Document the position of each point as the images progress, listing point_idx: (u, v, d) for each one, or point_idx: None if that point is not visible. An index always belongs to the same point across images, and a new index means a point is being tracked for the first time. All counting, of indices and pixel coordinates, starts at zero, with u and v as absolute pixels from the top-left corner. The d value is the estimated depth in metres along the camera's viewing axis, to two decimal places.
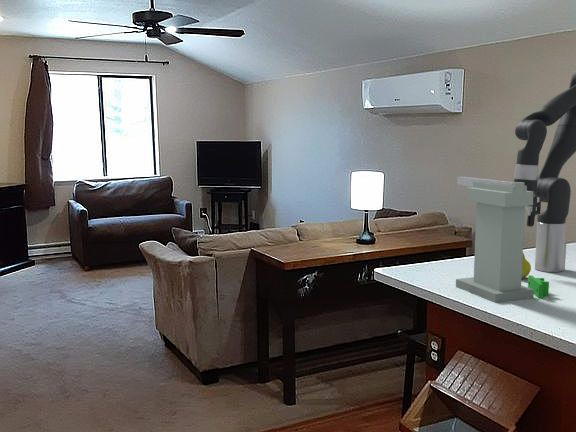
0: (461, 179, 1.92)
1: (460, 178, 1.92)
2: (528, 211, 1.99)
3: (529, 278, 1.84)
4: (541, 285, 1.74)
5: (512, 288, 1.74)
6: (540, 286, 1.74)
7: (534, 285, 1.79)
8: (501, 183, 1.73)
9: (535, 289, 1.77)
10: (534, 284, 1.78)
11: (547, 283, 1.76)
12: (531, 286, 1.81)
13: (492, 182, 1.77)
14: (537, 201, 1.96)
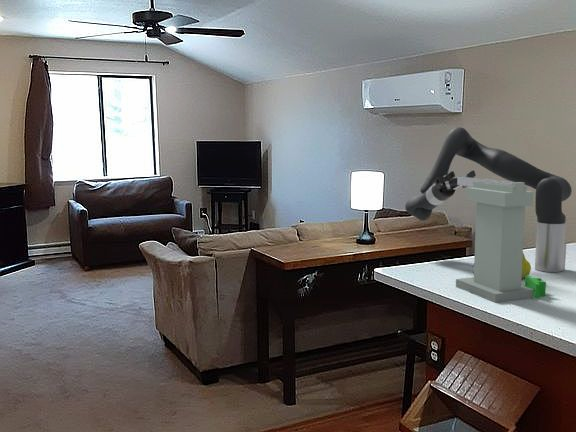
0: (461, 179, 1.92)
1: (460, 178, 1.92)
2: (447, 182, 2.08)
3: (526, 278, 1.84)
4: (538, 285, 1.74)
5: (512, 288, 1.74)
6: (537, 286, 1.74)
7: (531, 285, 1.79)
8: (501, 183, 1.73)
9: None
10: (531, 284, 1.78)
11: (544, 283, 1.76)
12: (528, 286, 1.81)
13: (492, 182, 1.77)
14: (434, 185, 2.10)
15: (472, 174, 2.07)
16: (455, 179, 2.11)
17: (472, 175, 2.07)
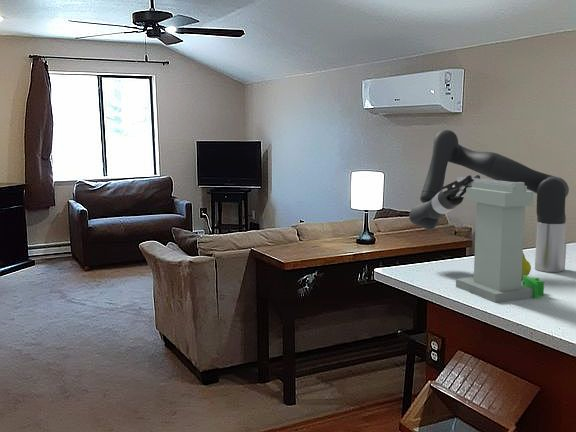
0: (461, 179, 1.92)
1: (460, 178, 1.92)
2: (462, 188, 1.91)
3: (523, 278, 1.84)
4: (537, 285, 1.74)
5: (512, 288, 1.74)
6: (536, 286, 1.74)
7: (529, 285, 1.79)
8: (501, 183, 1.73)
9: None
10: (529, 284, 1.78)
11: (542, 283, 1.76)
12: (526, 286, 1.81)
13: (492, 182, 1.77)
14: (446, 190, 1.92)
15: None
16: None
17: None
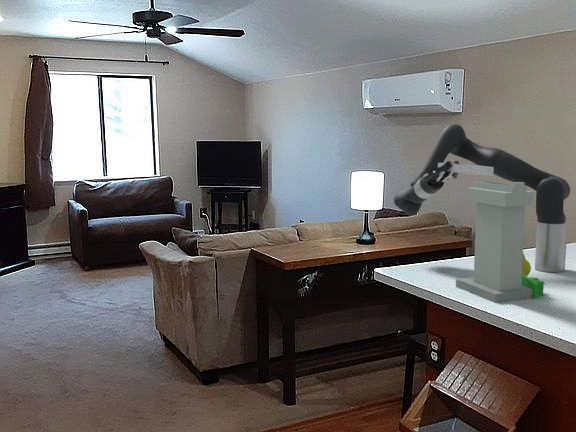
0: None
1: (440, 164, 2.02)
2: (442, 173, 2.01)
3: (523, 278, 1.84)
4: (537, 285, 1.74)
5: (512, 288, 1.74)
6: (536, 286, 1.74)
7: (528, 285, 1.79)
8: (477, 167, 1.83)
9: None
10: (529, 284, 1.78)
11: (542, 283, 1.77)
12: (525, 286, 1.81)
13: (469, 167, 1.87)
14: (427, 175, 2.02)
15: None
16: None
17: None
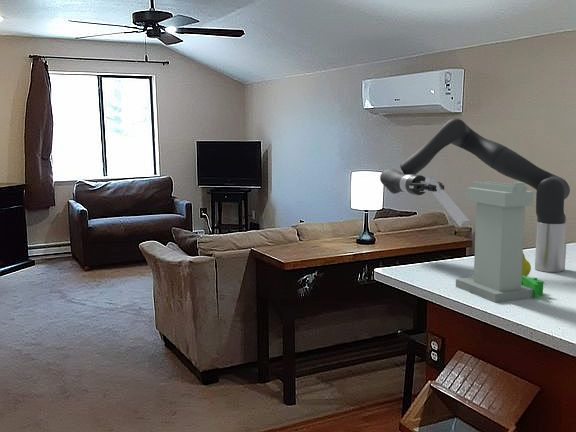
0: (428, 182, 2.10)
1: (427, 180, 2.10)
2: (426, 190, 2.11)
3: (522, 278, 1.84)
4: (537, 285, 1.74)
5: (512, 288, 1.74)
6: (536, 286, 1.74)
7: (528, 285, 1.79)
8: (455, 214, 1.96)
9: None
10: (528, 284, 1.78)
11: (542, 283, 1.77)
12: (525, 286, 1.81)
13: (449, 207, 1.99)
14: (412, 187, 2.12)
15: None
16: None
17: None
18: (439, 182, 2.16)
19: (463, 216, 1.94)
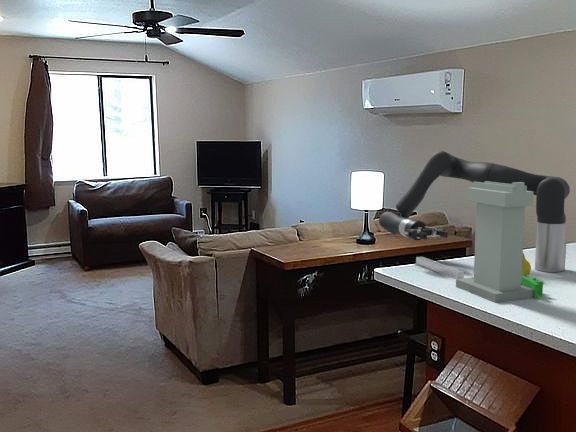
0: (419, 260, 2.19)
1: (418, 259, 2.19)
2: None
3: None
4: (537, 285, 1.74)
5: (512, 288, 1.74)
6: (536, 286, 1.74)
7: (528, 285, 1.79)
8: (449, 270, 2.01)
9: None
10: (528, 284, 1.78)
11: (541, 283, 1.77)
12: None
13: (443, 268, 2.04)
14: (406, 233, 2.15)
15: (444, 235, 2.11)
16: (428, 231, 2.15)
17: (444, 236, 2.12)
18: (437, 227, 2.20)
19: (457, 270, 1.99)
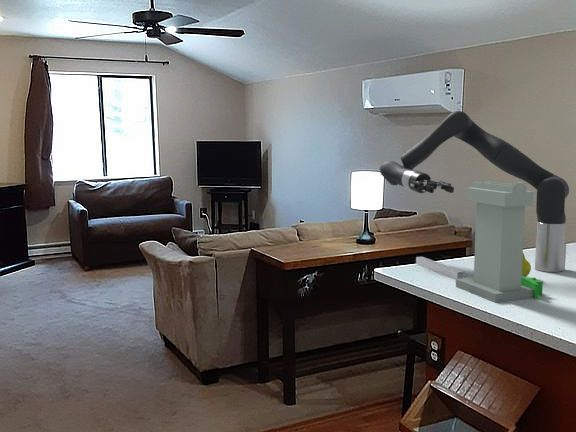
0: (419, 260, 2.19)
1: (418, 259, 2.19)
2: None
3: None
4: (537, 285, 1.74)
5: (512, 288, 1.74)
6: (536, 286, 1.74)
7: (527, 285, 1.79)
8: (449, 270, 2.01)
9: None
10: (528, 284, 1.78)
11: (541, 283, 1.77)
12: None
13: (443, 268, 2.04)
14: (412, 185, 2.10)
15: (450, 190, 2.07)
16: (433, 185, 2.11)
17: (450, 191, 2.08)
18: (442, 181, 2.15)
19: (457, 270, 1.99)
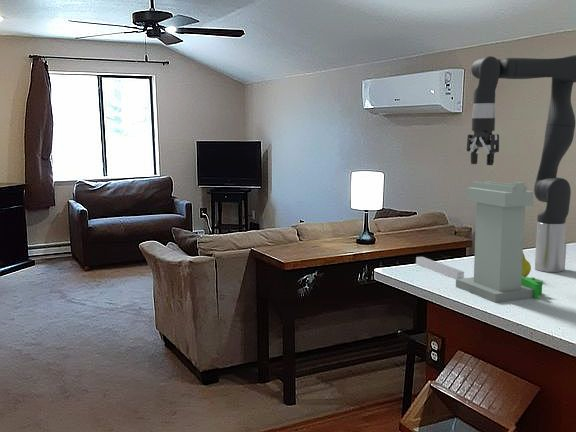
0: (419, 260, 2.19)
1: (418, 259, 2.19)
2: (487, 150, 1.97)
3: None
4: (537, 285, 1.74)
5: (512, 288, 1.74)
6: (536, 286, 1.74)
7: (527, 285, 1.78)
8: (449, 271, 2.01)
9: None
10: (527, 284, 1.78)
11: (541, 283, 1.77)
12: None
13: (443, 268, 2.04)
14: (495, 139, 1.94)
15: (474, 162, 2.06)
16: None
17: (473, 161, 2.05)
18: None
19: (457, 270, 1.99)
